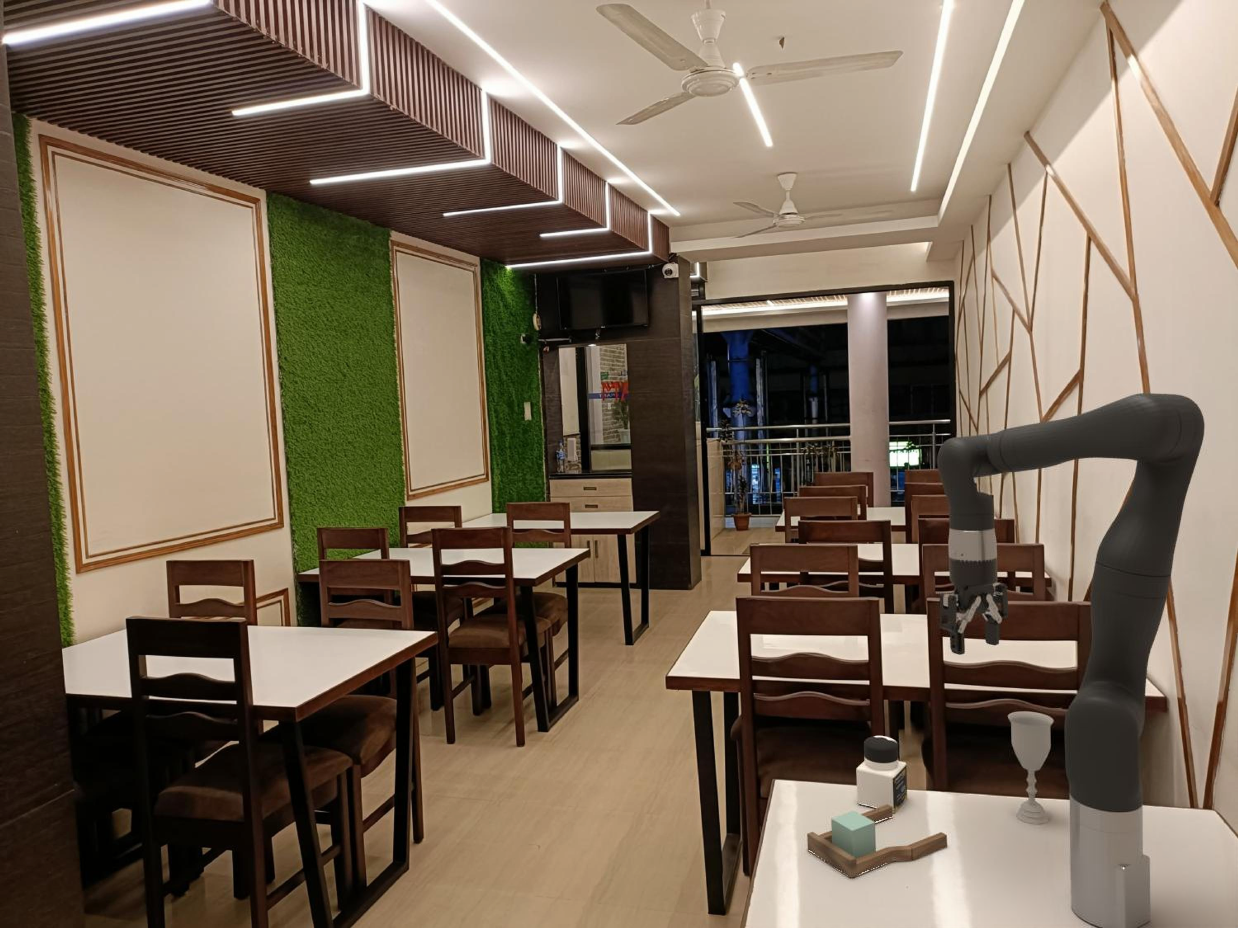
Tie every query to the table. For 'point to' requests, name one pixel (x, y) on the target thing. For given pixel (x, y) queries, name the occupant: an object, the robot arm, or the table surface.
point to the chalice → (1031, 756)
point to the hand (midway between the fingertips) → (975, 648)
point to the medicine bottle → (881, 774)
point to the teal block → (854, 834)
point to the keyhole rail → (856, 866)
